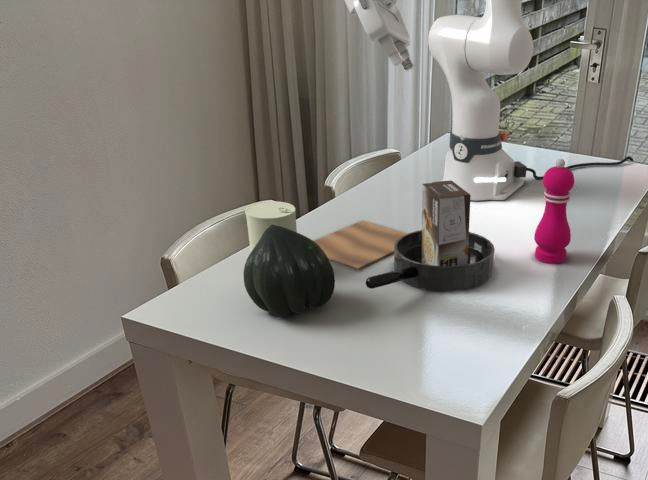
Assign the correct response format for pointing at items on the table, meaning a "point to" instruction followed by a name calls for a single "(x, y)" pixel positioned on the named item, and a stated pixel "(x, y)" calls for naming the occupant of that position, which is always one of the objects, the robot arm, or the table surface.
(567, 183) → the pepper mill
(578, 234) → the table surface
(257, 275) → the squash
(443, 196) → the coffee box
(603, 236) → the table surface
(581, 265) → the table surface
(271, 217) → the can
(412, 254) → the pan
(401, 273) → the pan handle
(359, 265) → the wooden board
